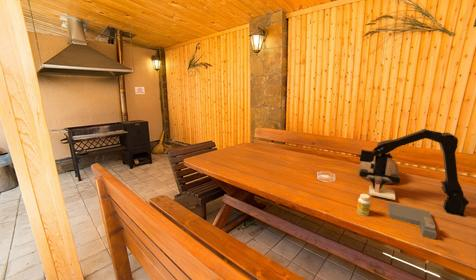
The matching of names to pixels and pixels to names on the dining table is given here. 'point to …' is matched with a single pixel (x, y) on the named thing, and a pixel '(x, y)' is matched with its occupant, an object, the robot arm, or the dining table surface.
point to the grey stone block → (428, 223)
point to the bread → (390, 169)
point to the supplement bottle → (363, 205)
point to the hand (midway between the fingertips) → (376, 189)
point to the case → (411, 217)
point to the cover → (381, 191)
